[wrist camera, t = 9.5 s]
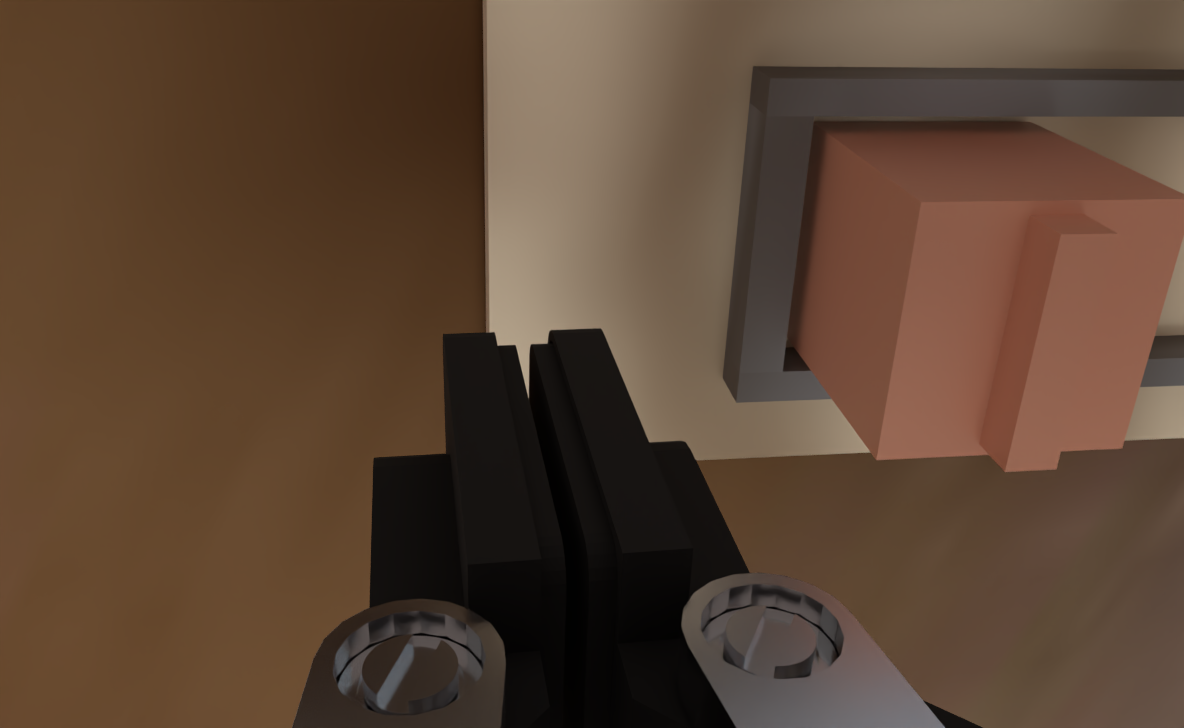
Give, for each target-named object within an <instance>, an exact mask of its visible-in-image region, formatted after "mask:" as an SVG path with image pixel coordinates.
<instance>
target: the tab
mask: <svg viewBox="0 0 1184 728" xmlns="http://www.w3.org/2000/svg"><path fill="white" fill-rule="evenodd" d="M1183 237H1184V194H1183V193H1181V192H1178V191H1176V190H1174V189H1172V188H1170V187H1168V186H1166V185H1164V184H1162V183H1159V182H1157V181H1155V180H1153V179H1151V178H1149V177H1147V176H1145V175H1142V174H1140V173H1138V172H1136V171H1134V170H1132V169H1130V168H1128V167H1125V166H1123V165H1121V164H1119V163H1117V162H1115V161H1113V160H1111V159H1109V158H1106V157H1104V156H1102V155H1100V154H1098V153H1096V152H1094V151H1092V150H1089V149H1087V148H1085V147H1083V146H1081V145H1079V144H1077V143H1075V142H1072V141H1070V140H1068V139H1066V138H1064V137H1062V136H1060V135H1058V134H1056V133H1053V132H1051V131H1049V130H1047V129H1045V128H1043V127H1041V126H1039V125H1036V124H1034V123H1032V122H814V123H813V131H812V139H811V147H810V155H809V163H808V171H807V179H806V187H805V195H804V203H803V211H802V219H801V227H800V236H799V244H798V252H797V260H796V268H795V276H794V284H793V292H792V300H791V308H790V316H789V324H788V332H787V338H788V340H789V341H790V342H791V344H792V345H793V347H794V348H795V349H796V351H797V352H798V353H799V355H800V356H801V358H802V359H803V360H804V362H805V363H806V364H807V366H808V367H809V368H810V370H811V371H812V373H813V374H814V375H815V377H816V378H817V379H818V381H819V382H820V384H821V385H822V386H823V388H824V389H825V390H826V392H827V393H828V395H829V396H830V397H831V399H832V400H833V401H834V403H835V404H836V406H837V407H838V408H839V410H840V411H841V412H842V414H843V415H844V417H845V418H846V419H847V421H848V422H849V423H850V425H851V426H852V428H853V429H854V430H855V432H856V433H857V434H858V436H859V437H860V439H861V440H862V441H863V443H864V444H865V445H866V447H867V448H868V449H869V451H870V452H871V454H872V455H873V456H874V458H875V459H876V460H890V459H911V458H933V457H954V456H975V455H990V456H991V457H992V458H993V460H994V461H995V462H996V463H997V464H998V465H999V466H1000V467H1001V468H1002V469H1003V470H1004V472H1014V471H1034V470H1054V469H1057V465H1058V461H1059V457H1060V453H1061V451H1080V450H1102V449H1122V447H1123V444H1124V440H1125V437H1126V434H1127V430H1128V427H1129V423H1130V420H1131V416H1132V413H1133V409H1134V406H1135V402H1136V399H1137V396H1138V392H1139V389H1140V385H1141V382H1142V378H1143V375H1144V371H1145V368H1146V364H1147V361H1148V358H1149V354H1150V351H1151V347H1152V344H1153V340H1154V337H1155V333H1156V330H1157V326H1158V323H1159V320H1160V316H1161V313H1162V309H1163V306H1164V302H1165V299H1166V295H1167V292H1168V288H1169V285H1170V282H1171V278H1172V275H1173V271H1174V268H1175V264H1176V261H1177V257H1178V254H1179V250H1180V247H1181V244H1182V240H1183Z"/></svg>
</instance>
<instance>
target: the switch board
mask: <svg viewBox="0 0 1184 728" xmlns="http://www.w3.org/2000/svg"><path fill="white" fill-rule="evenodd" d="M483 77H484V175H485V272H486V333H488V332H495V335H496V340H497V345H498V346H499V345H516V348H517V352H518V357H519V361H520V365H521V369H522V373H523V377H524V382H525V386H526V390H527V394H528V398H529V353H530V346H531V344H548V335H549V332H550V330H567V329H593V328H601V329H602V331H603V332H604V335H605V337H606V340H607V342H608V344H609V347H610V349H611V352H612V354H613V356H614V359H615V361H616V364H617V366H618V368H619V371H620V373H621V376H622V378H623V380H624V383H625V385H626V388H627V390H628V392H629V395H630V397H631V400H632V402H633V404H634V407H635V409H636V412H637V414H638V416H639V419H640V421H641V424H642V426H643V428H644V431H645V433H646V436H647V438H648V440H649V442H665V441H684V442H686V443H687V445H688V446H689V448H690V449H691V451H692V453H693V455H694V458H695V460H716V459H737V458H759V457H781V456H802V455H824V454H846V453H867V452H870V451H869V449H868V448H867V447H866V445H865V444H864V443H863V441H862V440H861V439H860V437H859V436H858V434H857V433H856V432H855V430H854V429H853V428H852V426H851V425H850V423H849V422H848V421H847V419H846V418H845V417H844V415H843V414H842V412H841V411H840V410H839V408H838V407H837V406H836V404H835V403H834V401H833V400H832V399H831V397H830V396H829V395H828V393H827V392H826V390H825V389H824V388H823V386H822V385H821V384H820V382H819V381H818V379H817V378H816V377H815V375H814V374H813V373H812V371H811V370H810V368H809V367H808V366H807V364H806V363H805V362H804V360H803V359H802V358H801V356H800V355H799V353H798V352H797V351H796V349H795V348H794V347H793V345H792V344H791V342H790V341H789V340H788V338H787V332H788V324H789V316H790V308H791V300H792V292H793V284H794V276H795V268H796V260H797V252H798V244H799V236H800V227H801V219H802V211H803V203H804V195H805V187H806V179H807V171H808V163H809V155H810V147H811V139H812V131H813V123H814V122H1032V123H1034V124H1036V125H1039V126H1041V127H1043V128H1045V129H1047V130H1049V131H1051V132H1053V133H1056V134H1058V135H1060V136H1062V137H1064V138H1066V139H1068V140H1070V141H1072V142H1075V143H1077V144H1079V145H1081V146H1083V147H1085V148H1087V149H1089V150H1092V151H1094V152H1096V153H1098V154H1100V155H1102V156H1104V157H1106V158H1109V159H1111V160H1113V161H1115V162H1117V163H1119V164H1121V165H1123V166H1125V167H1128V168H1130V169H1132V170H1134V171H1136V172H1138V173H1140V174H1142V175H1145V176H1147V177H1149V178H1151V179H1153V180H1155V181H1157V182H1159V183H1162V184H1164V185H1166V186H1168V187H1170V188H1172V189H1174V190H1176V191H1178V192H1181V193H1183V194H1184V0H483ZM1170 438H1184V237H1183V240H1182V244H1181V247H1180V250H1179V254H1178V257H1177V261H1176V264H1175V268H1174V271H1173V275H1172V278H1171V282H1170V285H1169V288H1168V292H1167V295H1166V299H1165V302H1164V306H1163V309H1162V313H1161V316H1160V320H1159V323H1158V326H1157V330H1156V333H1155V337H1154V340H1153V344H1152V347H1151V351H1150V354H1149V358H1148V361H1147V364H1146V368H1145V371H1144V375H1143V378H1142V382H1141V385H1140V389H1139V392H1138V396H1137V399H1136V402H1135V406H1134V409H1133V413H1132V416H1131V420H1130V423H1129V427H1128V430H1127V434H1126V437H1125V440H1124V441H1127V440H1149V439H1170Z"/></svg>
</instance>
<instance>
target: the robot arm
mask: <svg viewBox="0 0 1184 728" xmlns="http://www.w3.org/2000/svg"><path fill="white" fill-rule="evenodd" d="M443 366H444V399H445V433H446V454H432V455H414V456H397V457H379V458H374V464H373V498H372V536H371V574H370V608H368V609H365V610H363V611H362V612H360V613H358V614H356V615H354V616H352V617H350V618H349V619H347V620H345V621H343V622H342V623H341V624H340V625H339V626H338V627H336V628H335V629H334V630H333V631H332V632H331V633H330V634H329V635H328V636H327V637H326V638H325V639H324V640H323V642H322V644H321V646H320V648H319V650H318V651H317V653H316V655H315V657H314V659H313V662H312V665H311V669H310V672H309V675H308V678H307V682H306V685H305V688H304V691H303V694H302V698H301V701H300V704H299V707H298V711H297V714H296V717H295V720H294V723H293V727H292V728H982V727H980V726H978V725H976V724H974V723H971V722H969V721H967V720H965V719H963V718H961V717H958V716H956V715H954V714H952V713H950V712H947V711H945V710H943V709H941V708H939V707H936V706H934V705H932V704H930V703H928V702H926V701H923V700H922V699H921V698H920V696H919V695H918V694H917V693H916V691H915V690H914V689H913V688H912V687H911V685H910V684H909V683H908V682H907V680H906V679H905V678H904V677H903V676H902V674H901V673H900V672H899V671H898V669H897V668H896V667H895V666H894V665H893V663H892V662H891V661H890V660H889V658H888V657H887V656H886V655H885V654H884V652H883V651H882V650H881V649H880V647H879V646H878V645H877V644H876V643H875V641H874V640H873V639H872V638H871V636H870V635H869V634H868V633H867V631H866V630H865V629H864V628H863V627H862V625H861V624H860V623H859V622H858V620H857V619H856V618H855V617H854V616H853V614H852V613H851V612H850V611H849V610H848V609H847V608H845V607H844V606H843V605H842V604H841V603H840V602H839V601H838V600H837V599H836V598H835V597H833V596H832V595H830V594H828V593H826V592H824V591H823V590H821V589H819V588H817V587H815V586H814V585H812V584H809V583H806V582H803V581H800V580H797V579H794V578H790V577H787V576H782V575H774V574H766V573H749V571H748V568H747V566H746V564H745V562H744V560H743V558H742V556H741V554H740V552H739V550H738V548H737V545H736V543H735V541H734V539H733V537H732V535H731V533H730V531H729V529H728V527H727V525H726V522H725V520H724V518H723V516H722V514H721V512H720V510H719V508H718V506H717V504H716V501H715V499H714V497H713V495H712V493H711V491H710V489H709V487H708V485H707V483H706V481H705V478H704V476H703V474H702V472H701V470H700V468H699V466H698V464H697V462H696V460H695V458H694V455H693V453H692V451H691V449H690V448H689V446H688V445H687V443H686V442H684V441H665V442H649V440H648V438H647V436H646V433H645V431H644V428H643V426H642V424H641V421H640V419H639V416H638V414H637V412H636V409H635V407H634V404H633V402H632V400H631V397H630V395H629V392H628V390H627V388H626V385H625V383H624V380H623V378H622V376H621V373H620V371H619V368H618V366H617V364H616V361H615V359H614V356H613V354H612V352H611V349H610V347H609V344H608V342H607V340H606V337H605V335H604V332H603V331H602V329H601V328H593V329H567V330H550V332H549V335H548V344H531V346H530V353H529V398H528V394H527V390H526V386H525V382H524V377H523V373H522V369H521V365H520V361H519V357H518V352H517V348H516V345H499V346H498V345H497V340H496V335H495V332H488V333H461V334H443Z"/></svg>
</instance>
